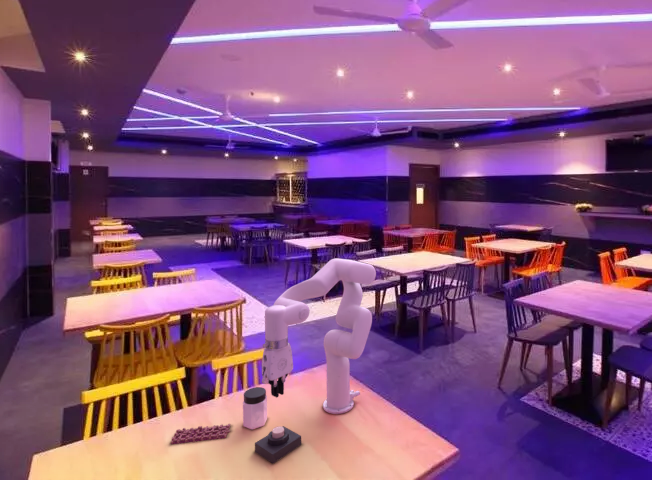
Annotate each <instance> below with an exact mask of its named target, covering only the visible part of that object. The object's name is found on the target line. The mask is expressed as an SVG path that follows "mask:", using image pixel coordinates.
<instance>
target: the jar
mask: <svg viewBox="0 0 652 480" xmlns="http://www.w3.org/2000/svg"><path fill="white" fill-rule="evenodd" d="M267 420H268V395H267V389H266V388H264V387H262V386H255V387H251V388H249V389H247V390H245V391H244V392H243V402H242V426H243V427H244V428H247V429H250V430H255V429H258V428H261V427H264V426H265V424H266V422H267Z"/></svg>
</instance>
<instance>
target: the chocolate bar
mask: <svg viewBox="0 0 652 480" xmlns="http://www.w3.org/2000/svg"><path fill="white" fill-rule="evenodd" d="M230 429H231V423H228V424H226V425H224V424H220V425H218V424H217V425H213V426H211V427H209V426H208V425H206V426H205V427H203V425H199V426H197V428H194V427H191V428H188V429H186V427H183V428H182V429H180V428H178V429H176V431H175V433H173V435H174V436H173V437H172V438H171V441H170V445H178V444H186V443H187V444H188V443H195V442H204V441H214V440H222V439H227V436H228V434H229V433H231V430H230Z"/></svg>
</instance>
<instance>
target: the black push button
mask: <svg viewBox="0 0 652 480" xmlns="http://www.w3.org/2000/svg"><path fill="white" fill-rule="evenodd" d="M281 427H283V428H284V436H283V437H281V438H278V439H276V438H273V437H272V430H271V431H269V433H268V434H267V435H265V436H263V437H262V438H261V439H259V440H257V441H256V442H254V453H256V454H257V455H259V456H260V457H262V458H264V459H265V460H267V461H268V462H270V463H271V464H275V463H277V462H278V461H280V460H281V459H282V458H284V457H285V456H287V455H288V454H290V453H292V452H293V451H295V449H297V448H299V447H300V446H301V445H302V435H301V434H298V433H297V432H295V431H293V430H291V428H288V427H286V426H284V425H282V426H281Z"/></svg>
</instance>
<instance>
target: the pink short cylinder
mask: <svg viewBox="0 0 652 480" xmlns="http://www.w3.org/2000/svg"><path fill="white" fill-rule="evenodd" d="M271 431H272V437H273V438H276V439H278V438H281V437H283V436H284V428H283V427H282V426H281V425H279V426H276V427H273V428H272V430H271Z"/></svg>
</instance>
